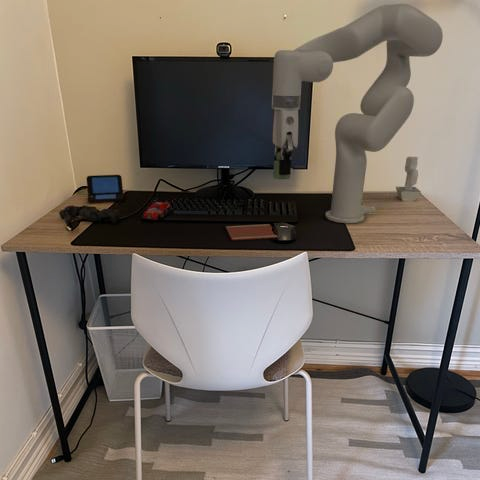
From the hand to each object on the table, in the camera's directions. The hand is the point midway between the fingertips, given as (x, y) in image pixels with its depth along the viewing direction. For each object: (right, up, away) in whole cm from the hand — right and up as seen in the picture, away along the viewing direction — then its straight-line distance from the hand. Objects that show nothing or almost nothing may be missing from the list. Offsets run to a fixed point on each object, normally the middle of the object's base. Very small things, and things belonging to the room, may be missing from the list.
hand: (281, 171), depth 139 cm
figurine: (+50, +2, +41) cm, 64 cm away
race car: (-39, -8, +21) cm, 45 cm away
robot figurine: (-60, -11, +17) cm, 63 cm away
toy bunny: (0, -1, +1) cm, 2 cm away
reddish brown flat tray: (-9, -16, +7) cm, 20 cm away
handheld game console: (-61, +2, +39) cm, 72 cm away
